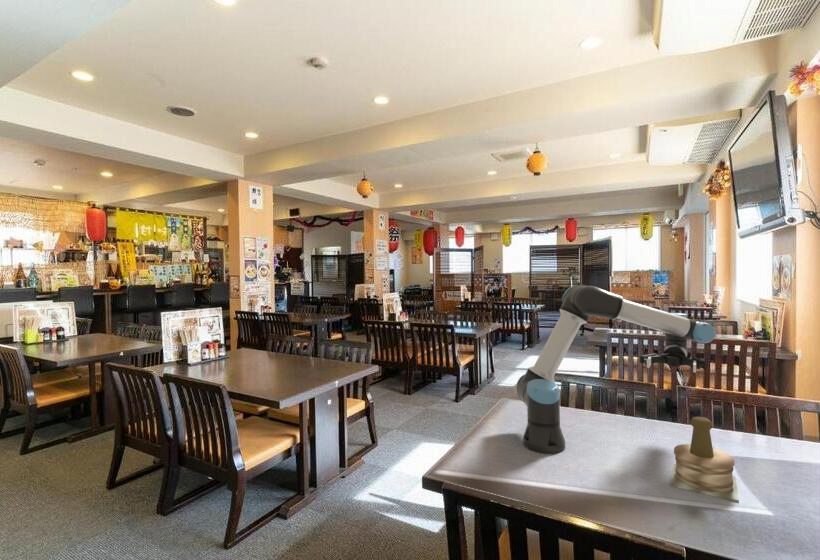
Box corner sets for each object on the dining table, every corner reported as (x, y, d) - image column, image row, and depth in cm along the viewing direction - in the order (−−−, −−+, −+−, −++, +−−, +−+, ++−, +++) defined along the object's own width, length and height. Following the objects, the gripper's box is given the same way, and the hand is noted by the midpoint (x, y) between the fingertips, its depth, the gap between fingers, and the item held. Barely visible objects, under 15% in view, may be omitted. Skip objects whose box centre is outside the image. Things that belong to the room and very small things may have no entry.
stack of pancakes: (670, 486, 123) (670, 457, 123) (674, 465, 136) (673, 439, 136) (738, 502, 114) (738, 471, 114) (735, 478, 127) (735, 451, 127)
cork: (718, 458, 122) (717, 422, 122) (695, 457, 123) (695, 420, 123) (707, 450, 128) (707, 415, 128) (686, 448, 129) (685, 414, 129)
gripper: (714, 369, 151) (715, 381, 134) (637, 362, 166) (630, 372, 149) (714, 349, 151) (715, 359, 134) (637, 343, 166) (629, 351, 149)
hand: (670, 366), depth 141 cm, fingers open, 13 cm apart
